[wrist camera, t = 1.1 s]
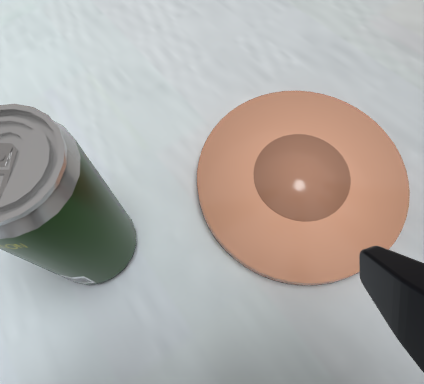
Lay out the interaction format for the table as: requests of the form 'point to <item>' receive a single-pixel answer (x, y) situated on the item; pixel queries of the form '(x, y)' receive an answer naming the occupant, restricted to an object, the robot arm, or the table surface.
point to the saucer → (301, 186)
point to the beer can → (58, 202)
